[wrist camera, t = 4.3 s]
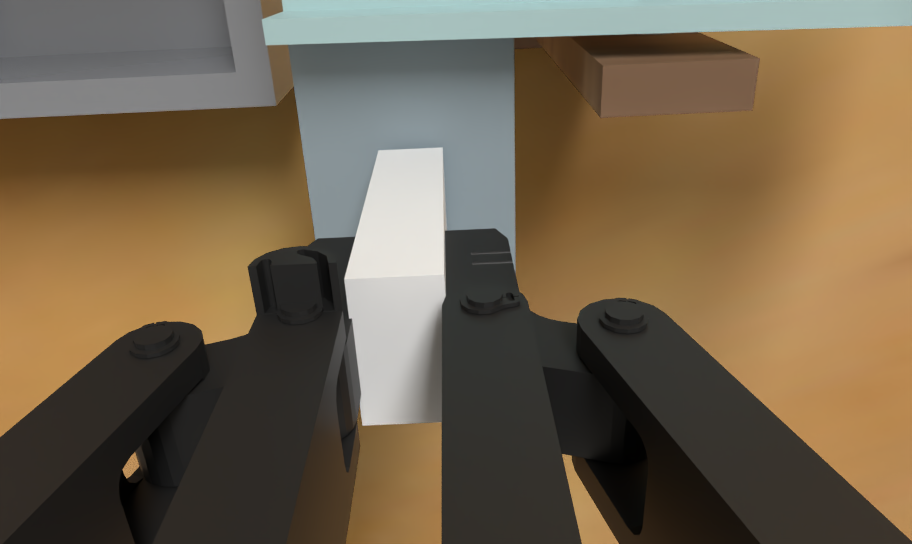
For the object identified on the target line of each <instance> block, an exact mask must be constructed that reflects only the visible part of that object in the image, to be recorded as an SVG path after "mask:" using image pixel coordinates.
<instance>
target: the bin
mask: <svg viewBox="0 0 912 544" xmlns="http://www.w3.org/2000/svg"><path fill="white" fill-rule="evenodd" d="M280 12H283V6H282V0H0V119H7V118H28V117H49V116H71V115H92V114H113V113H134V112H156V111H177V110H198V109H219V108H241V107H262V106H277V105H278V103H279V102H280V101H281V100H282V99H283V98H284V97H285V96H286V95H287V93H288V92H289V91H290V90H291V89H292V88H293V87H294V84H293V77H292V70H291V63H290V56H289V49H288V45H266V44H265V37H264V31H263V24H262V19H264V18H267V17H269V16H272V15H275V14H277V13H280Z"/></svg>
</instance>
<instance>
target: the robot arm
mask: <svg viewBox="0 0 912 544" xmlns="http://www.w3.org/2000/svg"><path fill="white" fill-rule="evenodd" d="M248 271H249V276H250V281H251V287H252V292H253V297H254V302H255V308H256V313H257V316H256V318H255V320H254V322H253V324H252V327H251V329H250V331H249V333H248V334H246V335H244V336H240V337H237V338H233V339H229V340H225V341H220V342H216V343H211V344H206V345H205V344H204V339H203V335H202V331H201V330H200V329H199V328H197V327H196V326H195V325H193V324H189V323H184V322H167V321H163V322H156V324H154V323H151V324H147V325H144V326H143V327H142V328H139V329H136V330H134V331H131V332H129V333H127V334H126V335H124V336H123V337H121V338H119V339H118V340H116V341H115V342H114V343H113V344H111V345H110V346H109V347H108V348H107V349H105V350H104V351H103V352H102V353H101V354H99V355H98V356H97V357H96V358H95V359H93V360H92V361H91V362H90V363H89V364H87V365H86V366H85V367H84V368H83V369H81V370H80V371H79V372H78V373H77V374H75V375H74V376H73V377H72V378H71V379H69V380H68V381H67V382H66V383H65V384H63V385H62V386H61V387H60V388H59V389H57V390H56V391H55V392H54V393H53V394H51V395H50V396H49V397H48V398H47V399H45V400H44V401H43V402H42V403H41V404H40V405H38V406H37V407H36V408H35V409H34V410H32V411H31V412H30V413H29V414H28V415H26V416H25V417H24V418H23V419H22V420H20V421H19V422H18V423H17V424H16V425H14V426H13V427H12V428H11V429H10V430H8V431H7V432H6V433H5V434H4V435H2V436H1V437H0V544H346V538H347V531H348V524H349V517H350V511H351V504H352V497H353V490H354V484H355V477H356V470H357V463H358V457H359V450H360V441H359V433H358V425H357V417H358V411H359V405H360V410H361V418H362V426H366V425H388V424H410V423H432V422H442V544H582V543H581V538H580V534H579V529H578V525H577V520H576V516H575V512H574V507H573V503H572V498H571V494H570V489H569V485H568V480H567V476H566V471H565V467H564V462H563V458H562V454H566V455H571V456H572V462H573V465H574V469H575V471H576V473H577V475H578V476H579V478H580V480H581V481H582V483H583V485H584V486H585V488H586V490H587V491H588V493H589V495H590V496H591V498H592V500H593V501H594V503H595V504H596V506H597V508H598V509H599V511H600V513H601V514H602V516H603V518H604V519H605V521H606V523H607V524H608V526H609V528H610V529H611V531H612V533H613V534H614V536H615V538H616V539H617V541H618V543H619V544H912V541H911V540H910V539H909V538H908V537H906V536H905V535H904V534H903V533H902V532H901V531H900V530H899V529H898V528H897V527H896V526H895V525H893V524H892V523H891V522H890V521H889V520H888V519H887V518H886V517H885V516H884V515H883V514H882V513H881V512H879V511H878V510H877V509H876V508H875V507H874V506H873V505H872V504H871V503H870V502H869V501H868V500H866V499H865V498H864V497H863V496H862V495H861V494H860V493H859V492H858V491H857V490H856V489H855V488H854V487H852V486H851V485H850V484H849V483H848V482H847V481H846V480H845V479H844V478H843V477H842V476H841V475H839V474H838V473H837V472H836V471H835V470H834V469H833V468H832V467H831V466H830V465H829V464H828V463H826V462H825V461H824V460H823V459H822V458H821V457H820V456H819V455H818V454H817V453H816V452H815V451H814V450H812V449H811V448H810V447H809V446H808V445H807V444H806V443H805V442H804V441H803V440H802V439H801V438H799V437H798V436H797V435H796V434H795V433H794V432H793V431H792V430H791V429H790V428H789V427H788V426H787V425H785V424H784V423H783V422H782V421H781V420H780V419H779V418H778V417H777V416H776V415H775V414H774V413H772V412H771V411H770V410H769V409H768V408H767V407H766V406H765V405H764V404H763V403H762V402H761V401H759V400H758V399H757V398H756V397H755V396H754V395H753V394H752V393H751V392H750V391H749V390H748V389H747V388H745V387H744V386H743V385H742V384H741V383H740V382H739V381H738V380H737V379H736V378H735V377H734V376H732V375H731V374H730V373H729V372H728V371H727V370H726V369H725V368H724V367H723V366H722V365H721V364H720V363H718V362H717V361H716V360H715V359H714V358H713V357H712V356H711V355H710V354H709V353H708V352H707V351H705V350H704V349H703V348H702V347H701V346H700V345H699V344H698V343H697V342H696V341H695V340H694V339H692V338H691V337H690V336H689V335H688V334H687V333H686V332H685V331H684V330H683V329H682V328H681V327H680V326H678V325H677V324H676V323H675V322H674V321H673V320H672V319H671V318H670V317H669V316H668V315H667V314H665V313H664V312H663V311H661V310H659V309H658V308H656V307H655V306H653V305H650V304H647V303H644V302H641V301H638V300H635V299H629V298H628V299H626V298H615V299H606V300H601V301H598V302H594V303H591V304H589V305H587V306H586V307H585V308H583V309H582V310H581V311H580V313H579V316H578V319H577V324H576V323H568V322H561V321H556V320H551V319H547V318H545V317H542V316H539V315H537V314H535V313H533V312H532V311H530V310H529V305H528V301H527V300H526V298H525V297H524V295H523V294H522V293H520V292H519V289H518V284H517V279H516V274H515V270H514V265H513V260H512V256H511V252H510V246H509V241H508V238H507V237H505V236H504V235H503V234H502V233H500V232H499V231H498V230H497V229H495V228H491V229H469V230H448V231H447V222H446V202H445V183H444V163H443V147H440V148H419V149H397V150H378V154H377V158H376V161H375V165H374V169H373V173H372V176H371V180H370V184H369V188H368V192H367V195H366V199H365V203H364V207H363V210H362V214H361V218H360V222H359V225H358V229H357V233H356V237H338V238H318V239H316V240H315V241H314V242H312V243H311V244H310V245H308V246H298V247H290V248H283V249H279V250H276V251H272V252H269V253H266V254H264V255H262V256H260V257H258V258H256V259H255V260H254V261H253V262H252V263H251V264H250V265H249V266H248ZM134 452H135V453H136V456H137V459H138V462H139V468H138V469H137V470H136V471H135V472H134V473H133V474H132V475H131V476H130V477H129V478H127V479H126V477H125V476H124V473H123V470H122V469H123V468H124V466H125V464H126V463H127V461H128V460H129V458H130V456H131V455H132V454H133V453H134Z"/></svg>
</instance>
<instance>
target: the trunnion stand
mask: <svg viewBox="0 0 912 544" xmlns="http://www.w3.org/2000/svg"><path fill="white" fill-rule="evenodd" d="M524 48H543V49H544V50H545V51H546V52H547V54H548V55H549V56H550V57H551V58H552V60H553V61H554V62H555V63H556V64H557V66H558V67H559V68H560V69H561V70H562V72H563V73H564V74H565V75H566V77H567V78H568V79H569V80H570V81H571V83H572V84H573V85H574V86H575V87H576V89H577V90H578V91H579V92H580V93H581V95H582V96H583V97H584V98H585V100H586V101H587V102H588V103H589V104H590V106H591V107H592V108H593V109H594V110H595V112H596V113H597V114H598V115H599V116H600V118H604V117H626V116H647V115H668V114H689V113H711V112H732V111H752V110H753V103H754V96H755V88H756V81H757V74H758V67H759V60H760V58H758V57H755V56H753V55H751V54H748V53H746V52H743V51H741V50H739V49H736V48H734V47H732V46H729V45H727V44H724V43H722V42H720V41H717V40H715V39H713V38H710V37H708V36H706V35H703V34H701V33H698V32H685V33H673V34H664V35H642V34H620V35H587V36H554V37H521V38H514V49H524Z"/></svg>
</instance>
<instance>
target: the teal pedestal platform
mask: <svg viewBox="0 0 912 544" xmlns="http://www.w3.org/2000/svg"><path fill="white" fill-rule="evenodd" d="M282 6H283V12H280V13H277V14H275V15H272V16H269V17H267V18H264V19H262V24H263V31H264V37H265V44H266V45H288V49H289V56H290V63H291V70H292V77H293V84H294V91H295V98H296V105H297V113H298V120H299V127H300V134H301V141H302V148H303V155H304V162H305V169H306V177H307V184H308V191H309V198H310V205H311V212H312V219H313V226H314V233H315V240H316V239H318V238H338V237H356V233H357V229H358V225H359V222H360V218H361V214H362V210H363V207H364V203H365V199H366V195H367V192H368V188H369V184H370V180H371V176H372V173H373V169H374V165H375V161H376V158H377V154H378V150H397V149H419V148H440V147H443V163H444V183H445V202H446V222H447V231H448V230H469V229H491V228H495V229H497V230H498V231H499V232H500V233H502V234H503V235H504V236H505V237H507V238H508V241H509V246H510V252H511V256H512V260H513V265H514V270H515V274H516V230H515V65H514V38H521V37H554V36H587V35H620V34H642V35H664V34H673V33H685V32H718V31H751V30H783V29H816V28H849V27H882V26H912V0H282Z"/></svg>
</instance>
